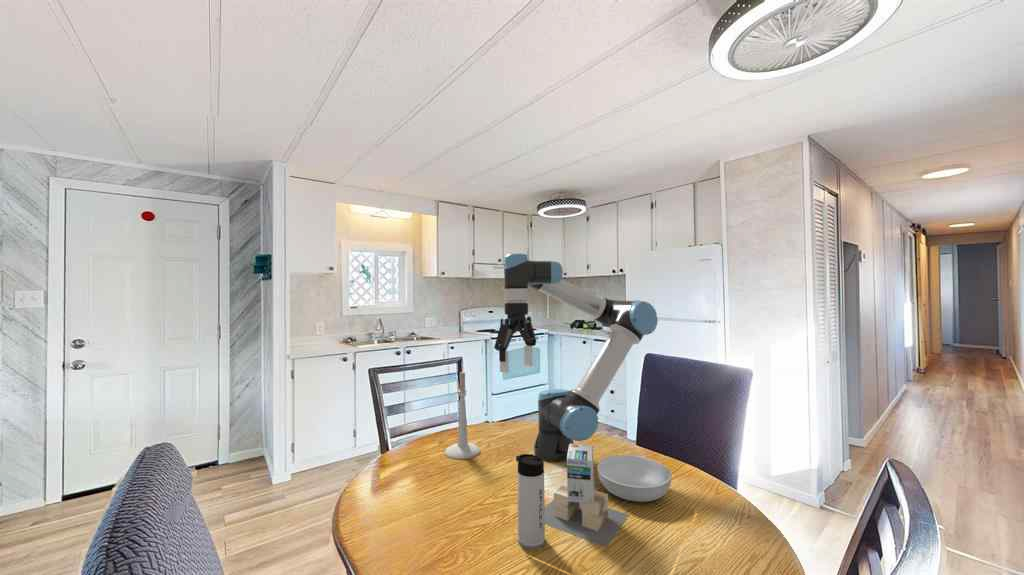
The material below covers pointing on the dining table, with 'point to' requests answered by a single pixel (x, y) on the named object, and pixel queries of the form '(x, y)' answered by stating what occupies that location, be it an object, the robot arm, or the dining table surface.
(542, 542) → the travel mug
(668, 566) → the dining table surface
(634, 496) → the serving bowl
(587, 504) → the block
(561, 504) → the beige wooden block
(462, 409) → the candlestick
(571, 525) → the mat
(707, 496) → the dining table surface
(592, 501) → the light bulb box
